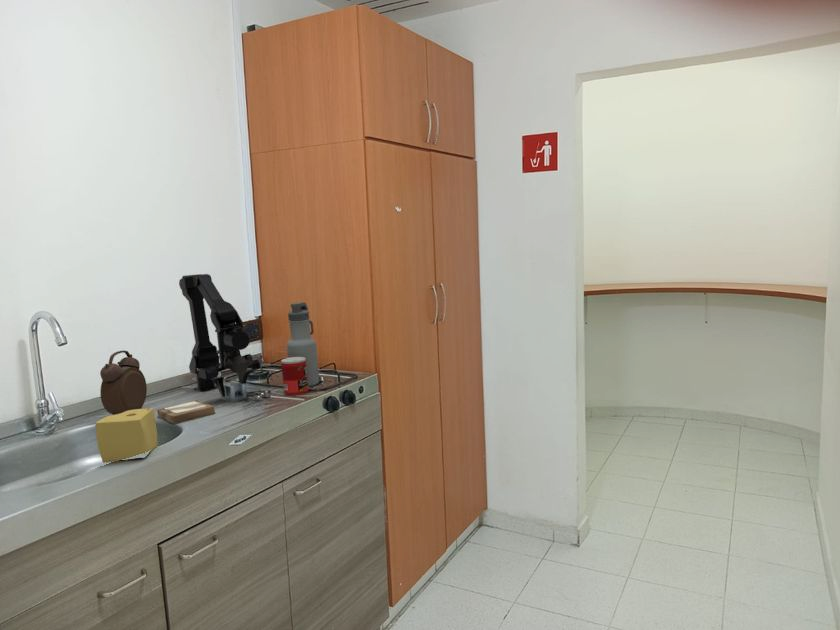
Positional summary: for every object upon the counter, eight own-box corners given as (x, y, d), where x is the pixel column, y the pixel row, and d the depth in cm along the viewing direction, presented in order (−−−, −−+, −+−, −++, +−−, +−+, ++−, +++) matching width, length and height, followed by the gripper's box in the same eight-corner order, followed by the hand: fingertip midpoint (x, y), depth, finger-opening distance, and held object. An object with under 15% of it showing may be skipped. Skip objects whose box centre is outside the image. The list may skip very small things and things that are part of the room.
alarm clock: (130, 410, 192) (121, 347, 189) (151, 409, 191) (143, 346, 188) (99, 425, 178) (89, 357, 175) (122, 424, 177) (113, 356, 174)
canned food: (303, 395, 196) (300, 361, 194) (280, 395, 197) (276, 362, 196) (312, 389, 203) (309, 356, 202) (289, 389, 205) (286, 357, 203)
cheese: (117, 449, 155) (111, 410, 154) (161, 445, 156) (156, 406, 154) (99, 464, 145) (93, 423, 143) (146, 459, 145) (141, 418, 144)
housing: (220, 398, 199) (219, 383, 199) (235, 395, 203) (233, 380, 202) (232, 402, 194) (230, 387, 193) (246, 398, 197) (245, 383, 196)
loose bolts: (244, 400, 195) (244, 393, 194) (261, 393, 202) (261, 387, 201) (259, 401, 192) (259, 394, 192) (276, 394, 199) (275, 387, 199)
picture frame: (158, 417, 182) (157, 408, 182) (197, 407, 190) (196, 399, 190) (174, 424, 173) (173, 415, 173) (214, 413, 181) (213, 405, 181)
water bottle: (296, 381, 216) (289, 302, 213) (323, 380, 215) (316, 300, 211) (286, 388, 207) (278, 305, 203) (314, 387, 205) (306, 304, 201)
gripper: (211, 354, 184) (216, 405, 186) (266, 343, 196) (271, 391, 198) (195, 351, 192) (201, 399, 194) (249, 341, 205) (254, 386, 207)
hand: (233, 394), depth 198 cm, fingers open, 6 cm apart
